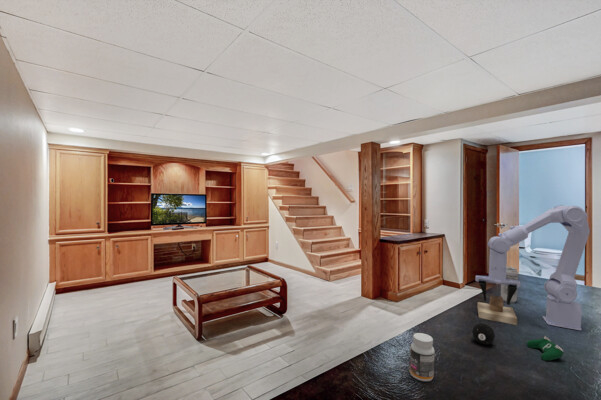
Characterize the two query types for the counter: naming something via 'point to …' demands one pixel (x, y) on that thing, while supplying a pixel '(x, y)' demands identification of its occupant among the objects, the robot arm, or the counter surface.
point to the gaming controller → (546, 348)
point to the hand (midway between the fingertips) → (496, 302)
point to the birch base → (497, 314)
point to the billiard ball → (483, 333)
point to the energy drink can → (512, 275)
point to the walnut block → (496, 303)
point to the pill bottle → (422, 357)
